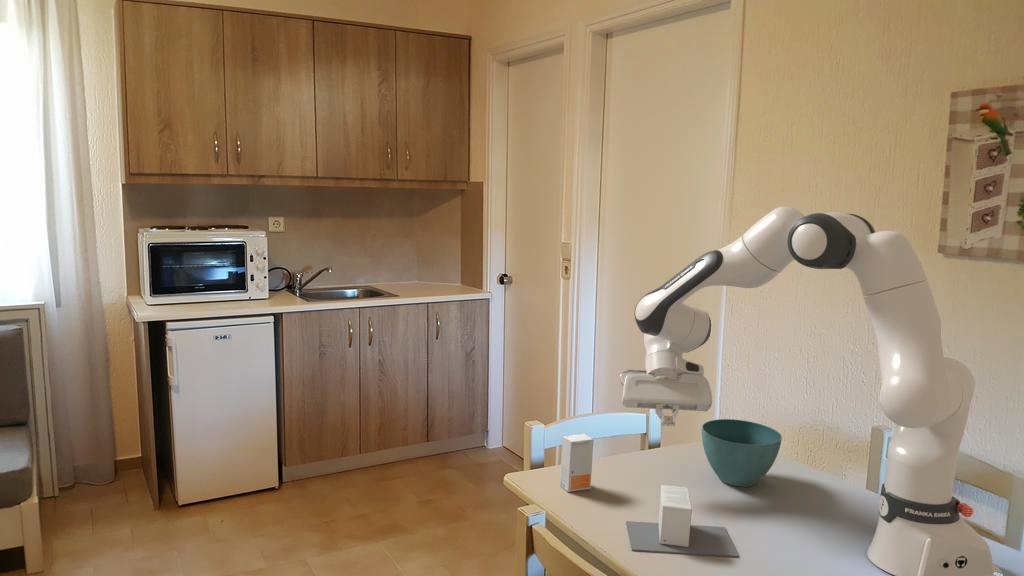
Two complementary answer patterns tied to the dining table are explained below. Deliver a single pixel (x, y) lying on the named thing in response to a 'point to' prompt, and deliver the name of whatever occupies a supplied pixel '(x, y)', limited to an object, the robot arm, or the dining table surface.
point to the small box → (674, 516)
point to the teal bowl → (740, 450)
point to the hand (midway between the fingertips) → (668, 424)
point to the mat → (700, 543)
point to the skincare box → (576, 462)
